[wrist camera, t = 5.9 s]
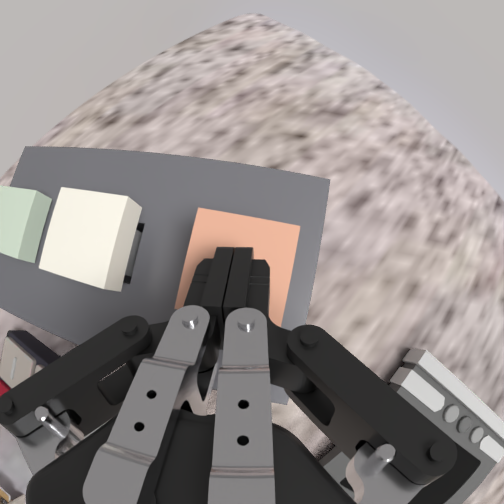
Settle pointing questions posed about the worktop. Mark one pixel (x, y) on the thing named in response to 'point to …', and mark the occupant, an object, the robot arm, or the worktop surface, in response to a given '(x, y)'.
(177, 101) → the worktop surface
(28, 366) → the calculator
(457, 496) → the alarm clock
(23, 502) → the architectural model
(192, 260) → the terracotta key
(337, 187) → the worktop surface
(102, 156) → the key console
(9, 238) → the sage key
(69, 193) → the cream key
